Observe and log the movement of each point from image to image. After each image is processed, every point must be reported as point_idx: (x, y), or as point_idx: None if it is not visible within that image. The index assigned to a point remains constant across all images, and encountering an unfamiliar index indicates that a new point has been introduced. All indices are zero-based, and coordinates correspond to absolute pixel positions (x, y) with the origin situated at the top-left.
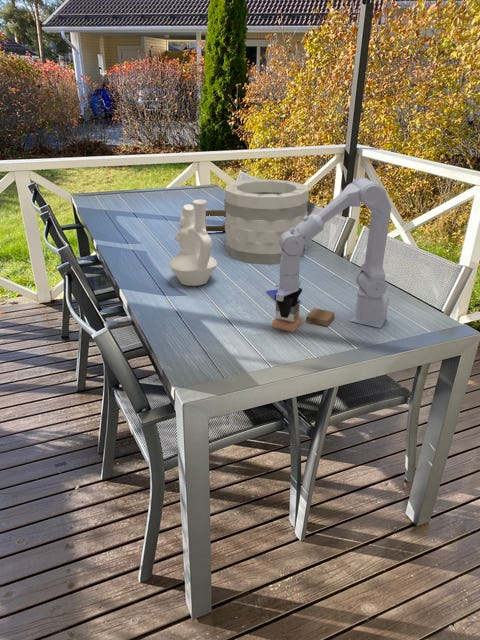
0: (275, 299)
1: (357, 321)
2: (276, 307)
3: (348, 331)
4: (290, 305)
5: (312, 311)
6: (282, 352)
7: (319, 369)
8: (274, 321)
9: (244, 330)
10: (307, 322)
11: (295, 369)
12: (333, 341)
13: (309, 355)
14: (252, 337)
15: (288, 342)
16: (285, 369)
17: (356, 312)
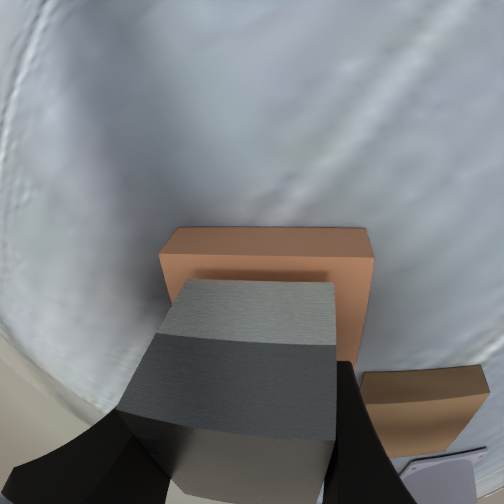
0: (19, 471)
1: (407, 473)
2: (142, 371)
3: None
4: (162, 492)
5: (444, 404)
6: (49, 342)
7: (82, 420)
8: (167, 269)
9: (38, 92)
10: (363, 379)
11: (36, 379)
12: None
13: (106, 407)
14: (20, 186)
15: (110, 350)
16: (17, 359)
17: (430, 488)
